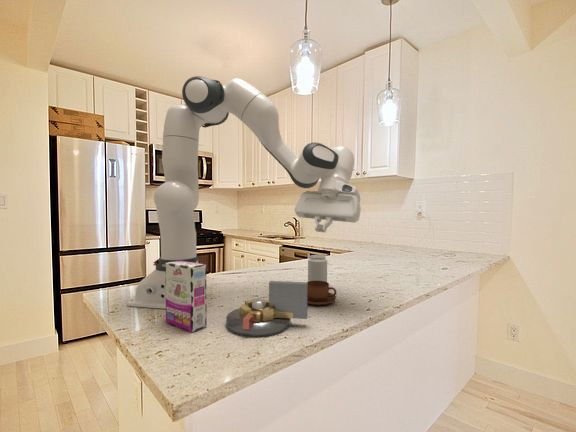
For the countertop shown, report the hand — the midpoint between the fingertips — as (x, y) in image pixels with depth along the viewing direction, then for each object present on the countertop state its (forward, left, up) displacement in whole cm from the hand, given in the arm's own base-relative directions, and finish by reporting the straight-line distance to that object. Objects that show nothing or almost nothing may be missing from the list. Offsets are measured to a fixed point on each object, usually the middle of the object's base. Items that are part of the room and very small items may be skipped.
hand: (320, 231), depth 87 cm
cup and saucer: (0, +9, -24) cm, 26 cm away
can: (+3, +27, -24) cm, 37 cm away
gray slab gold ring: (-13, -9, -22) cm, 27 cm away
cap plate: (-17, -9, -24) cm, 31 cm away
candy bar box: (-36, -10, -24) cm, 45 cm away
